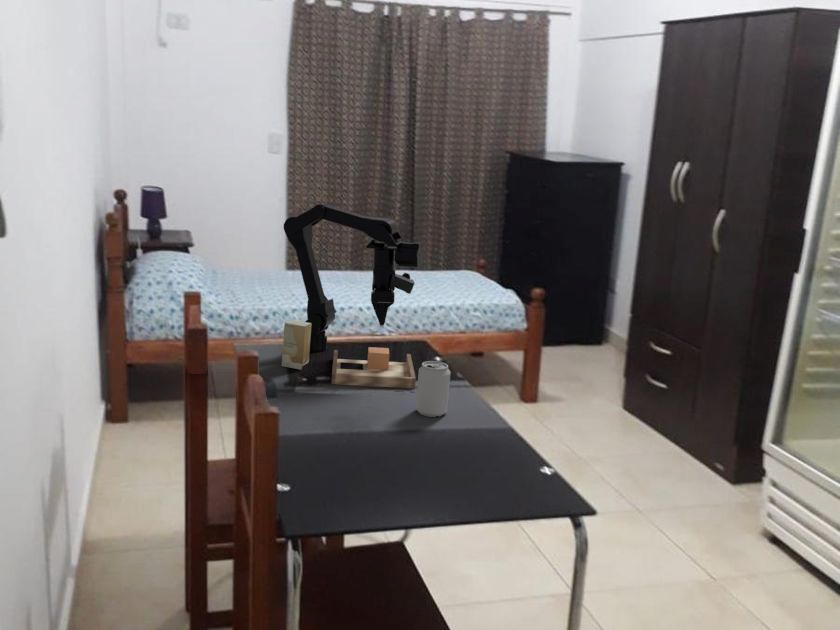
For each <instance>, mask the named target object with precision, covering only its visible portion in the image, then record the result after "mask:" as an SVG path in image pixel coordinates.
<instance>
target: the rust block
mask: <svg viewBox="0 0 840 630" xmlns="http://www.w3.org/2000/svg"><path fill="white" fill-rule="evenodd" d="M367 351H368V352H367V361H368V369H379V370H388V367H389V362H390V349H389V348H388V347H374V346H373V347H371V346H368V350H367Z"/></svg>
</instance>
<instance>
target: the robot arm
mask: <svg viewBox="0 0 840 630" xmlns="http://www.w3.org/2000/svg"><path fill="white" fill-rule="evenodd" d="M323 220H325V221H328V222H331V223H334V224H338V225H341V226H343V227H347V228H351V229H355V230H358V231H360V232H362V233H364V234H365V235H366V236H367V237H369V238H371V241H370V242H369V243H368V244H367V245H365V248H366V249H373V256H372V257H373V258H372V259H373V260H372V261H373V264H372V266H373V267H372V283H371V290H372V291H371V294H370V302H371V305H372V308H373V310H374V313H375V316H376V318H377V320H378V324H379V326H384V325H385V322H386V319H387V314H388V309H389V308H390V307H391V306H392V305H393V304H394V303H395V295H396V294H395V289H397V290H400V291H403V292H405V293H406V294H408V295H409V294H411V293H412V292H413V288H414V286H415V280H413V279H412V278H411V275H410V273H408V272H403V274H397V273H396V269H395V264H396V265H397V266H398V267H399V268H411V269H421V267H422V265H423V262H424V261H423V259H424V253H423V250H422V246H421V245H422V244H421V242H405V239H404V238H403V236H402V234H400V231H399V230H398V225H397V223H396V221H395V220H394V219H392V218H388V217H381V216H380V217H379V216H367V215H364V214H363V215H362V214H359V213H356V212H352V211H350V210H346V209H343V208H340V207H335V206H334V205H333V206H332V205H331V204H328V203H325V202H324V203H323V202H322V203H318V204H316V205H315V206H313V207H311V208H310V209H307V211H305V212H302V213H301V214H297V215H294V216H290V217H288V218H287V219H285V222H284V223H283V231H284V233H285V236H286V238H287V240H288V242H289V243H290V245H291V246H292V248H293V249H294V250H295V253H296V257H297V262H298V265H299V269H300V270H299V271H300V273H301V276H302V277H301V278H302V281H303V284H304V289H305V293H306V295H307V296H306V297H307V303H306V304H307V306H306V315H307V317H306V318H307V319H306V320H305V321H304V322H307V323H312V325H311V338H310V351H309V352H311V353H315V352H324V351H325V352H326V351H327V348H328V336H327V335H326V330H328V328H329V326H330V325H331V324H333V323H334V321H335V320H336V313H338V311H337V309H336V308H335V303H334V299H333V298H331V299H330V298H329V299H328V298H327V297H326V295H325V293H324V289H323V284H322V281H321V277H320V273H319V269H318V266H317V262H316V258H315V254H314V249H313V246H312V245H313V237H314V236H313V235H314V234H313V232H314V231H313V227H314V226H315V225H317V224H319V223H320V222H321V221H323Z"/></svg>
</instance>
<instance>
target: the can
mask: <svg viewBox="0 0 840 630" xmlns="http://www.w3.org/2000/svg"><path fill="white" fill-rule="evenodd" d="M417 376H418V378H417V388H416V389H417V390H416V401H415V409H416V411H417V412H418V413H419V414H420V415H421V416H425V417H429V418H430V417H431V418H437V417H436V416H438V417H441V416H443V415H444V414H446V413H447V411H448V407H449V406H448V405H449V404H448V402H449V393H450V382H451V370H450V369H449V365H448V364H447V363H445V362H443V361H438V360H428V361H423V362H422V363H421V366H420V368H418V375H417Z"/></svg>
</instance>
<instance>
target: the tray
mask: <svg viewBox="0 0 840 630" xmlns="http://www.w3.org/2000/svg"><path fill="white" fill-rule="evenodd" d="M338 355H339V351H338V349H334V351H333V361H332V370H331V371H332V372H331V382H330V383H331V385H345V386H364V387H379V388H380V387H381V388H384V387H385V388H403V389H415V388H416V381H417V380H416V379H417V378H416V373H415V368H414V364H413V363H414V362H413V360H412V355H411V353H407V354H406V361H405V362H399V361H389V367H388V370H379V369H368V360H363V359H362V360H361V359H344V358H338ZM342 363H344V364H345V363H346V364H347V363H348V364H362V369H351V368H350V369H348V368H347V369H346V368H341V366H342ZM357 389H358V388H357ZM357 391H363V389H361V388H359V389H358V390H357ZM394 391H395V393H403V391H401V390H400V391H399V390H394ZM411 393H416V392H415V391H411Z"/></svg>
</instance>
